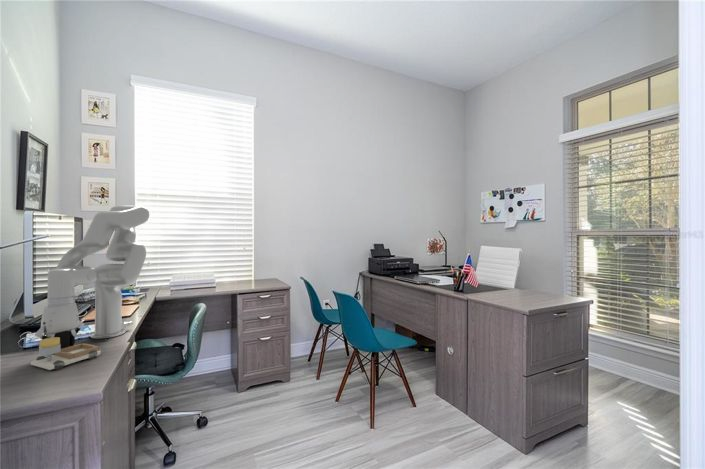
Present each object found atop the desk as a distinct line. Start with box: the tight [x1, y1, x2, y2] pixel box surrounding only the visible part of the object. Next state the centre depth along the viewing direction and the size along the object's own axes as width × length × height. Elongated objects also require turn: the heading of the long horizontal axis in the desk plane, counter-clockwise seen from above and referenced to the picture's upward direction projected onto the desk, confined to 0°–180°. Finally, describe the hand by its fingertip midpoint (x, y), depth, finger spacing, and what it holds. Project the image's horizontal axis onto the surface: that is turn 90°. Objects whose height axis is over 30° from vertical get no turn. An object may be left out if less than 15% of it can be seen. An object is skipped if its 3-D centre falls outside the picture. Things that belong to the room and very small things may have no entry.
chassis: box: [30, 343, 102, 371], centre depth 113 cm, size 15×11×5 cm
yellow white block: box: [38, 337, 61, 357], centre depth 108 cm, size 5×5×4 cm
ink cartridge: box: [52, 331, 70, 355], centre depth 121 cm, size 5×2×8 cm, turn 130°
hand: (60, 348), depth 121 cm, fingers closed on ink cartridge, 5 cm apart
